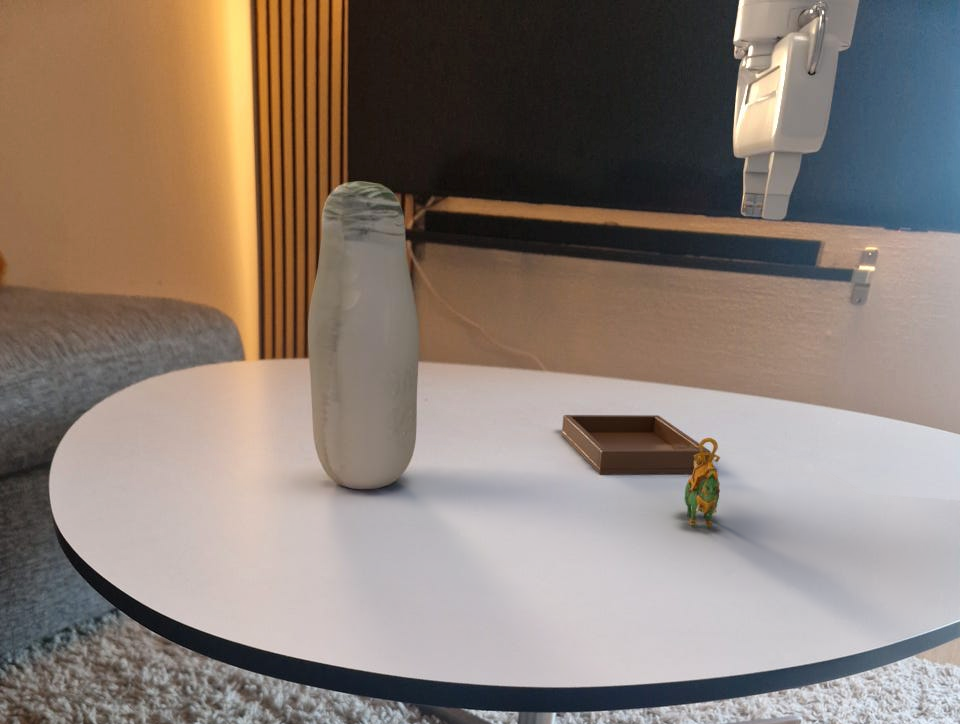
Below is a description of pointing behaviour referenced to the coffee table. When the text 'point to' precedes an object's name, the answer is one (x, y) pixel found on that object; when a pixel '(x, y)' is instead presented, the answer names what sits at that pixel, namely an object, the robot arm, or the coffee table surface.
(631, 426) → the walnut tray
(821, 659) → the coffee table surface
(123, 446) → the coffee table surface
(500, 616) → the coffee table surface
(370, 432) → the grey tall rounded cylinder
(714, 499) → the figurine
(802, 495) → the coffee table surface
